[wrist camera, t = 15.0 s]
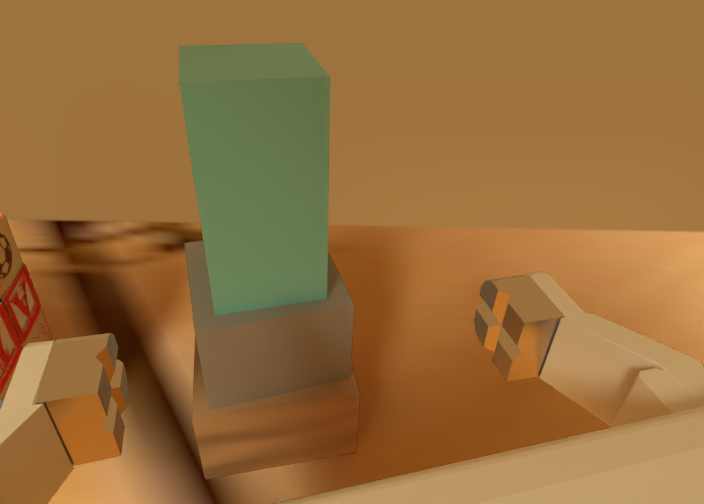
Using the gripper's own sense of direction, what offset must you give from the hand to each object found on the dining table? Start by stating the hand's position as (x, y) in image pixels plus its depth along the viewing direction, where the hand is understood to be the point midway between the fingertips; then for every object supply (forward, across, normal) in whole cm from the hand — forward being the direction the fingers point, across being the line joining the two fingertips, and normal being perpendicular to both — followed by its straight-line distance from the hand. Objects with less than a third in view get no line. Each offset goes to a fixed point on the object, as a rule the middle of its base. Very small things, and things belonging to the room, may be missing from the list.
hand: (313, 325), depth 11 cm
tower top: (+12, 0, +12) cm, 17 cm away
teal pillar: (+12, 0, +7) cm, 14 cm away
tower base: (+12, 0, +17) cm, 21 cm away
